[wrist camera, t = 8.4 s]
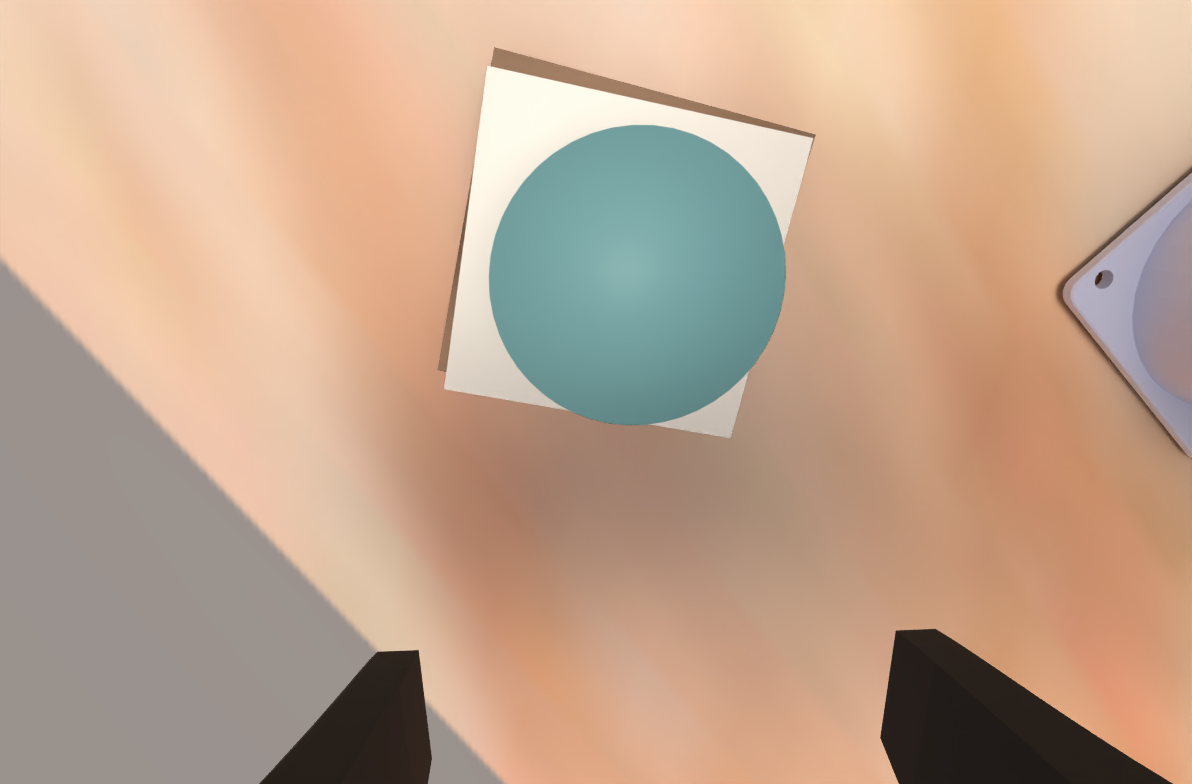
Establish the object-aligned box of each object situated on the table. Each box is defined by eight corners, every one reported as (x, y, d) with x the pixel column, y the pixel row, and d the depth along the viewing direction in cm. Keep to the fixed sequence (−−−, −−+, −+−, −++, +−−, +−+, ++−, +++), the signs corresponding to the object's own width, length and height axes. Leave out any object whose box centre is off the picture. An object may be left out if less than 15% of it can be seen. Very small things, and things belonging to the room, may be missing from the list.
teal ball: (603, 96, 13) (629, 51, 9) (756, 245, 14) (845, 270, 10) (465, 266, 14) (426, 301, 10) (620, 394, 15) (647, 477, 11)
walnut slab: (503, 64, 17) (494, 47, 15) (786, 141, 18) (815, 134, 16) (451, 350, 19) (437, 370, 17) (705, 406, 20) (721, 431, 18)
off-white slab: (498, 82, 15) (487, 65, 13) (780, 145, 16) (813, 138, 14) (458, 364, 17) (444, 389, 15) (711, 409, 18) (730, 438, 16)
